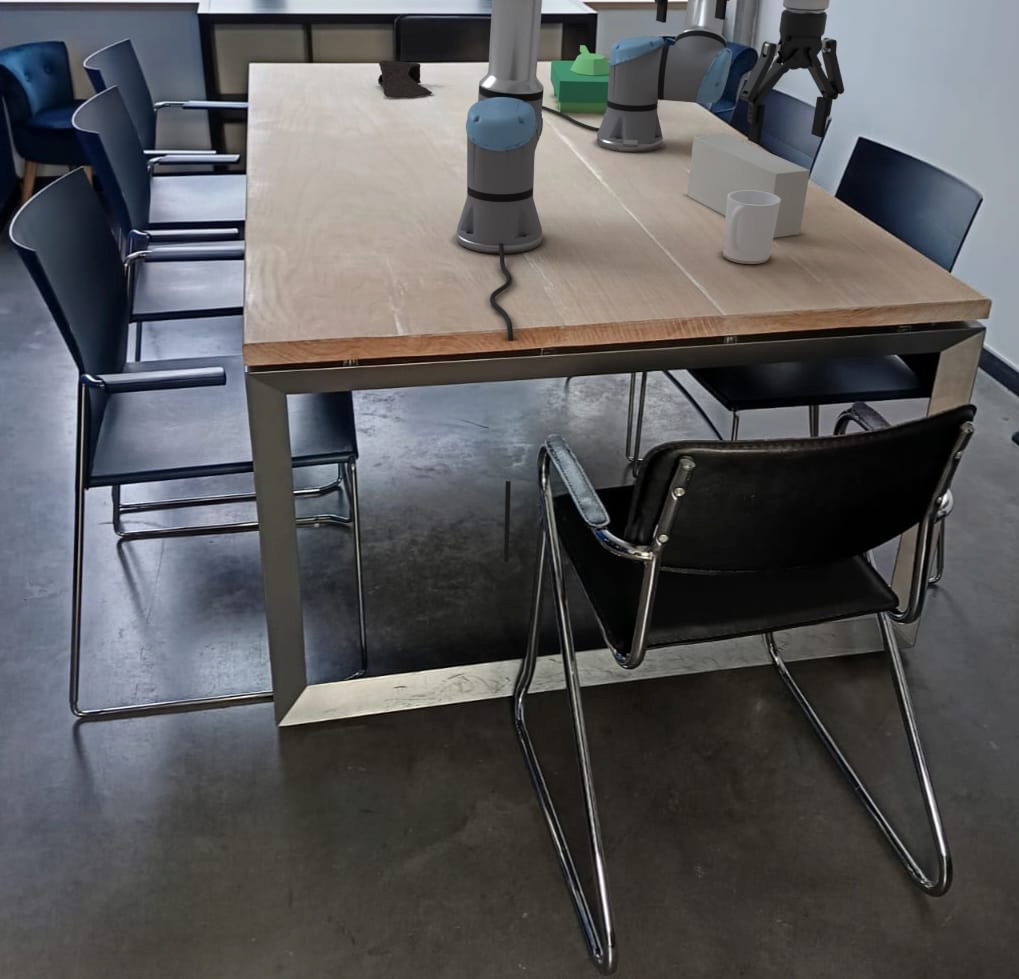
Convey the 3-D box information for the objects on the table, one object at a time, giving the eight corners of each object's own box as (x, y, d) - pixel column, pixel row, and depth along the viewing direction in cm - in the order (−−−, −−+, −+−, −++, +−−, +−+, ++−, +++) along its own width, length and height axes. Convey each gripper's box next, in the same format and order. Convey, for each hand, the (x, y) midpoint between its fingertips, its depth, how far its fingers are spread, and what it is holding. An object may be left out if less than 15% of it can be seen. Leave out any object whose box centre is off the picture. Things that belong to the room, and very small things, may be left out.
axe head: (443, 87, 294) (392, 77, 287) (436, 115, 299) (385, 106, 292) (421, 62, 307) (371, 52, 300) (414, 89, 311) (365, 80, 304)
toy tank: (613, 42, 302) (631, 66, 272) (610, 88, 309) (627, 117, 279) (549, 40, 301) (560, 65, 272) (547, 87, 308) (558, 116, 278)
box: (799, 234, 202) (810, 170, 196) (766, 238, 200) (776, 173, 193) (717, 192, 224) (724, 133, 218) (687, 195, 222) (693, 136, 215)
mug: (736, 244, 196) (743, 187, 191) (781, 255, 191) (790, 197, 186) (704, 259, 189) (711, 200, 183) (750, 272, 184) (758, 211, 179)
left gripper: (851, 4, 191) (830, 128, 202) (729, 9, 183) (714, 139, 194) (879, 10, 185) (856, 137, 196) (754, 16, 177) (738, 149, 188)
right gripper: (747, -102, 215) (733, 14, 226) (635, -102, 206) (626, 19, 217) (769, -100, 209) (753, 20, 220) (654, -99, 200) (645, 25, 211)
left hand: (786, 139), depth 195 cm, fingers open, 13 cm apart
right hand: (690, 20), depth 219 cm, fingers open, 13 cm apart
